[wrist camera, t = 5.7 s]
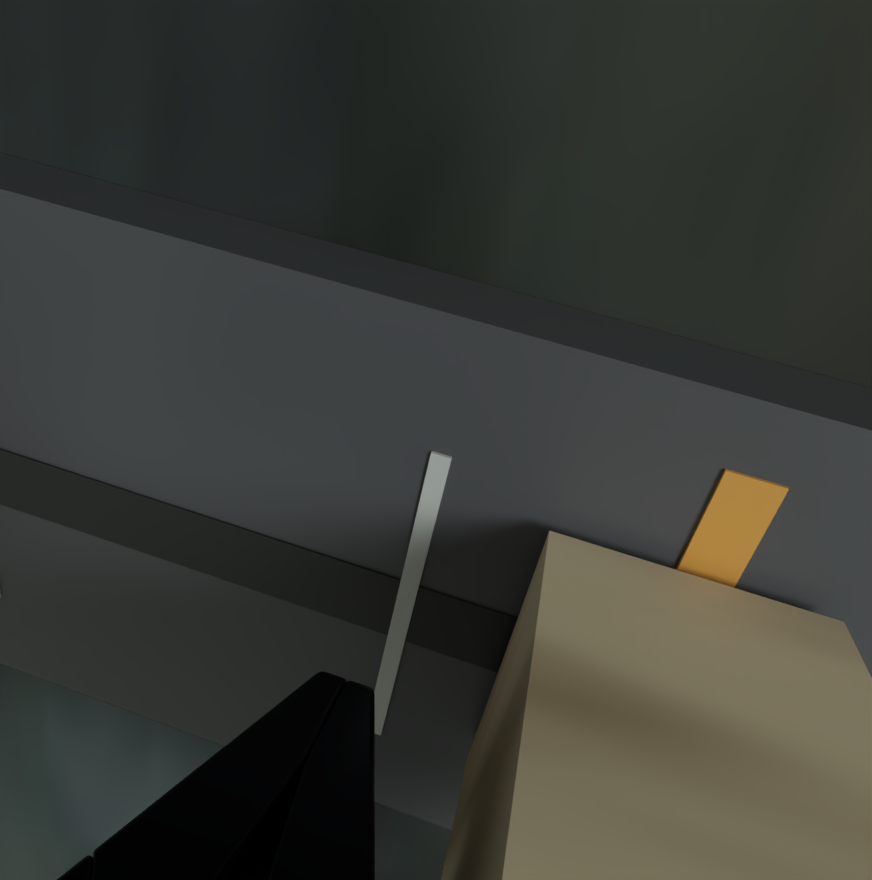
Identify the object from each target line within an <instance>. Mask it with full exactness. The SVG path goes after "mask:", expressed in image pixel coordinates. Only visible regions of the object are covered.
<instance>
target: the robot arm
mask: <svg viewBox="0 0 872 880" xmlns="http://www.w3.org/2000/svg"><path fill="white" fill-rule="evenodd" d="M57 880H375V694H374V690H373V689H372V688H371V687H369V686H366V685H363V684H360V683H357V682H354V681H350V680H349V681H347V680H346V679H345V678H343V677H340V676H337V675H334V674H331V673H328V672H325V671H321V672H318V673H317V674H315V675H314V676H313V677H311V678H310V679H309V680H307V681H306V682H305V683H304V684H302V685H301V686H300V687H299V688H297V689H296V690H295V691H294V692H292V693H291V694H290V695H289V696H287V697H286V698H285V699H284V700H282V701H281V702H280V703H279V704H277V705H276V706H275V707H274V708H272V709H271V710H270V711H269V712H267V713H266V714H265V715H264V716H262V717H261V718H260V719H259V720H257V721H256V722H255V723H254V724H252V725H251V726H250V727H248V728H247V729H246V730H245V731H243V732H242V733H241V734H240V735H238V736H237V737H236V738H235V739H233V740H232V741H231V742H230V743H228V744H227V745H226V746H225V747H223V748H222V749H221V750H220V751H218V752H217V753H216V754H215V755H213V756H212V757H211V758H210V759H208V760H207V761H206V762H205V763H203V764H202V765H201V766H200V767H198V768H197V769H196V770H194V771H193V772H192V773H191V774H189V775H188V776H187V777H186V778H184V779H183V780H182V781H181V782H179V783H178V784H177V785H176V786H174V787H173V788H172V789H171V790H169V791H168V792H167V793H166V794H164V795H163V796H162V797H161V798H159V799H158V800H157V801H156V802H154V803H153V804H152V805H151V806H149V807H148V808H147V809H146V810H144V811H143V812H142V813H140V814H139V815H138V816H137V817H135V818H134V819H133V820H132V821H130V822H129V823H128V824H127V825H125V826H124V827H123V828H122V829H120V830H119V831H118V832H117V833H115V834H114V835H113V836H112V837H110V838H109V839H108V840H107V841H105V842H104V843H103V844H102V845H100V846H99V847H98V848H97V849H95V851H94V852H93V859H92V856H86V857H85V858H83V859H82V860H81V861H80V862H78V863H77V864H76V865H75V866H73V867H72V868H71V869H70V870H69V871H67V872H66V873H65V874H64V875H62V876H61V877H60V878H59V879H57Z"/></svg>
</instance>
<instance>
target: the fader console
mask: <svg viewBox="0 0 872 880" xmlns="http://www.w3.org/2000/svg"><path fill="white" fill-rule="evenodd" d="M549 531H553V532H556V533H559V534H562V535H566V536H569V537H572V538H575V539H578V540H582V541H585V542H588V543H591V544H595V545H598V546H601V547H604V548H607V549H611V550H614V551H617V552H620V553H624V554H627V555H630V556H633V557H636V558H640V559H643V560H646V561H649V562H653V563H656V564H659V565H662V566H665V567H669V568H672V569H675V570H678V571H682V572H685V573H688V574H691V575H694V576H698V577H701V578H704V579H707V580H711V581H714V582H717V583H720V584H723V585H727V586H730V587H733V588H736V589H740V590H743V591H746V592H749V593H752V594H756V595H759V596H762V597H765V598H769V599H772V600H775V601H778V602H781V603H785V604H788V605H791V606H794V607H798V608H801V609H804V610H807V611H810V612H814V613H817V614H820V615H823V616H827V617H830V618H833V619H836V620H839V621H843V622H844V623H845V625H846V627H847V629H848V631H849V633H850V635H851V637H852V639H853V641H854V643H855V645H856V647H857V649H858V651H859V653H860V655H861V657H862V659H863V661H864V663H865V665H866V667H867V669H868V671H869V674H870V676H871V678H872V388H868V387H865V386H861V385H857V384H854V383H850V382H846V381H842V380H839V379H835V378H831V377H828V376H824V375H820V374H817V373H813V372H809V371H806V370H802V369H798V368H794V367H791V366H787V365H783V364H780V363H776V362H772V361H769V360H765V359H761V358H757V357H754V356H750V355H746V354H743V353H739V352H735V351H732V350H728V349H724V348H720V347H717V346H713V345H709V344H706V343H702V342H698V341H695V340H691V339H687V338H684V337H680V336H676V335H672V334H669V333H665V332H661V331H658V330H654V329H650V328H647V327H643V326H639V325H635V324H632V323H628V322H624V321H621V320H617V319H613V318H610V317H606V316H602V315H598V314H595V313H591V312H587V311H584V310H580V309H576V308H573V307H569V306H565V305H561V304H558V303H554V302H550V301H547V300H543V299H539V298H536V297H532V296H528V295H525V294H521V293H517V292H513V291H510V290H506V289H502V288H499V287H495V286H491V285H488V284H484V283H480V282H476V281H473V280H469V279H465V278H462V277H458V276H454V275H451V274H447V273H443V272H439V271H436V270H432V269H428V268H425V267H421V266H417V265H414V264H410V263H406V262H403V261H399V260H395V259H391V258H388V257H384V256H380V255H377V254H373V253H369V252H366V251H362V250H358V249H354V248H351V247H347V246H343V245H340V244H336V243H332V242H329V241H325V240H321V239H317V238H314V237H310V236H306V235H303V234H299V233H295V232H292V231H288V230H284V229H281V228H277V227H273V226H269V225H266V224H262V223H258V222H255V221H251V220H247V219H244V218H240V217H236V216H232V215H229V214H225V213H221V212H218V211H214V210H210V209H207V208H203V207H199V206H195V205H192V204H188V203H184V202H181V201H177V200H173V199H170V198H166V197H162V196H158V195H155V194H151V193H147V192H144V191H140V190H136V189H133V188H129V187H125V186H122V185H118V184H114V183H110V182H107V181H103V180H99V179H96V178H92V177H88V176H85V175H81V174H77V173H73V172H70V171H66V170H62V169H59V168H55V167H51V166H48V165H44V164H40V163H36V162H33V161H29V160H25V159H22V158H18V157H14V156H11V155H7V154H3V153H0V664H2V665H5V666H8V667H10V668H13V669H16V670H19V671H21V672H24V673H27V674H29V675H32V676H35V677H37V678H40V679H43V680H46V681H48V682H51V683H54V684H56V685H59V686H62V687H65V688H67V689H70V690H73V691H75V692H78V693H81V694H84V695H86V696H89V697H92V698H94V699H97V700H100V701H103V702H105V703H108V704H111V705H113V706H116V707H119V708H122V709H124V710H127V711H130V712H132V713H135V714H138V715H140V716H143V717H146V718H149V719H151V720H154V721H157V722H159V723H162V724H165V725H168V726H170V727H173V728H176V729H178V730H181V731H184V732H187V733H189V734H192V735H195V736H197V737H200V738H203V739H206V740H208V741H211V742H214V743H216V744H219V745H222V746H226V745H227V744H228V743H230V742H231V741H232V740H233V739H235V738H236V737H237V736H238V735H240V734H241V733H242V732H243V731H245V730H246V729H247V728H248V727H250V726H251V725H252V724H254V723H255V722H256V721H257V720H259V719H260V718H261V717H262V716H264V715H265V714H266V713H267V712H269V711H270V710H271V709H272V708H274V707H275V706H276V705H277V704H279V703H280V702H281V701H282V700H284V699H285V698H286V697H287V696H289V695H290V694H291V693H292V692H294V691H295V690H296V689H297V688H299V687H300V686H301V685H302V684H304V683H305V682H306V681H307V680H309V679H310V678H311V677H313V676H314V675H315V674H317V673H318V672H321V671H325V672H328V673H331V674H334V675H337V676H340V677H343V678H345V679H346V680H347V681H349V680H350V681H354V682H357V683H360V684H363V685H366V686H369V687H371V688H372V689H373V690H374V694H375V802H376V803H379V804H382V805H384V806H387V807H390V808H393V809H395V810H398V811H401V812H403V813H406V814H409V815H412V816H414V817H417V818H420V819H422V820H425V821H428V822H431V823H433V824H436V825H439V826H441V827H444V828H447V829H450V830H452V826H453V821H454V817H455V812H456V808H457V803H458V798H459V794H460V789H461V785H462V780H463V775H464V771H465V766H466V761H467V758H468V755H469V752H470V749H471V747H472V744H473V741H474V738H475V735H476V733H477V730H478V727H479V724H480V722H481V719H482V716H483V713H484V710H485V708H486V705H487V702H488V699H489V697H490V694H491V691H492V688H493V685H494V683H495V680H496V677H497V674H498V672H499V669H500V666H501V663H502V660H503V658H504V655H505V652H506V649H507V647H508V644H509V641H510V638H511V635H512V633H513V630H514V627H515V624H516V622H517V619H518V616H519V613H520V610H521V608H522V605H523V602H524V599H525V597H526V594H527V591H528V588H529V585H530V583H531V580H532V577H533V574H534V572H535V569H536V566H537V563H538V560H539V558H540V555H541V552H542V549H543V547H544V544H545V541H546V538H547V536H548V533H549Z"/></svg>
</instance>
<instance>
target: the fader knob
mask: <svg viewBox="0 0 872 880" xmlns="http://www.w3.org/2000/svg"><path fill="white" fill-rule="evenodd" d="M441 880H872V678H871V676H870V674H869V671H868V669H867V667H866V665H865V663H864V661H863V659H862V657H861V655H860V653H859V651H858V649H857V647H856V645H855V643H854V641H853V639H852V637H851V635H850V633H849V631H848V629H847V627H846V625H845V623H844V622H843V621H839V620H836V619H833V618H830V617H827V616H823V615H820V614H817V613H814V612H810V611H807V610H804V609H801V608H798V607H794V606H791V605H788V604H785V603H781V602H778V601H775V600H772V599H769V598H765V597H762V596H759V595H756V594H752V593H749V592H746V591H743V590H740V589H736V588H733V587H730V586H727V585H723V584H720V583H717V582H714V581H711V580H707V579H704V578H701V577H698V576H694V575H691V574H688V573H685V572H682V571H678V570H675V569H672V568H669V567H665V566H662V565H659V564H656V563H653V562H649V561H646V560H643V559H640V558H636V557H633V556H630V555H627V554H624V553H620V552H617V551H614V550H611V549H607V548H604V547H601V546H598V545H595V544H591V543H588V542H585V541H582V540H578V539H575V538H572V537H569V536H566V535H562V534H559V533H556V532H553V531H549V533H548V536H547V538H546V541H545V544H544V547H543V549H542V552H541V555H540V558H539V560H538V563H537V566H536V569H535V572H534V574H533V577H532V580H531V583H530V585H529V588H528V591H527V594H526V597H525V599H524V602H523V605H522V608H521V610H520V613H519V616H518V619H517V622H516V624H515V627H514V630H513V633H512V635H511V638H510V641H509V644H508V647H507V649H506V652H505V655H504V658H503V660H502V663H501V666H500V669H499V672H498V674H497V677H496V680H495V683H494V685H493V688H492V691H491V694H490V697H489V699H488V702H487V705H486V708H485V710H484V713H483V716H482V719H481V722H480V724H479V727H478V730H477V733H476V735H475V738H474V741H473V744H472V747H471V749H470V752H469V755H468V758H467V761H466V766H465V771H464V775H463V780H462V785H461V789H460V794H459V798H458V803H457V808H456V812H455V817H454V821H453V826H452V831H451V835H450V840H449V844H448V849H447V854H446V858H445V863H444V867H443V872H442V877H441Z"/></svg>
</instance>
